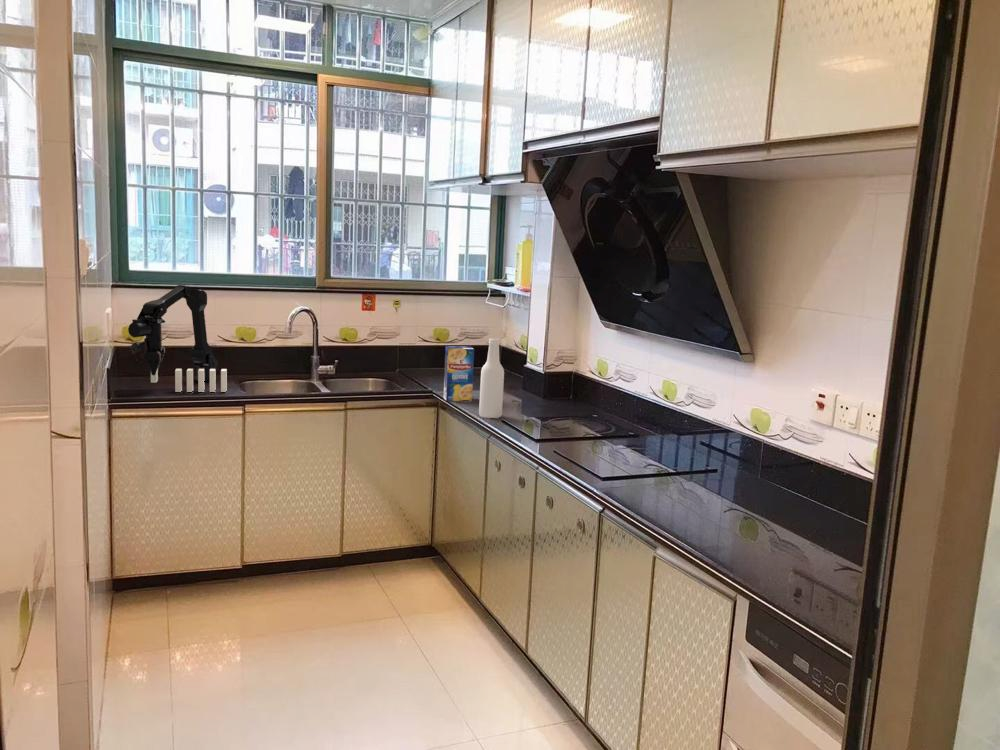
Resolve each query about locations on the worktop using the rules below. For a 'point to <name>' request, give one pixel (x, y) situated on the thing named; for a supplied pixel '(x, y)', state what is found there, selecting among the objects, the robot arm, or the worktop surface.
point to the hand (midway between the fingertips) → (154, 373)
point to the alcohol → (491, 383)
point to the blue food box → (458, 373)
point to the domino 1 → (154, 377)
